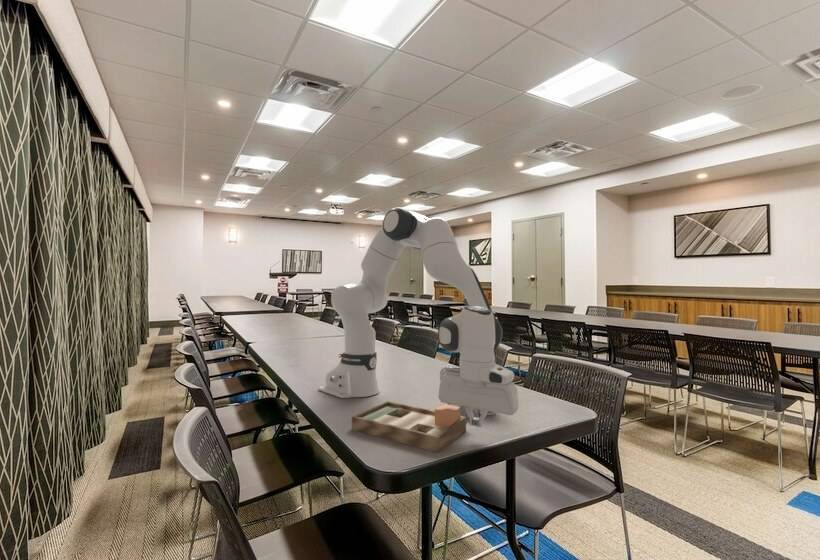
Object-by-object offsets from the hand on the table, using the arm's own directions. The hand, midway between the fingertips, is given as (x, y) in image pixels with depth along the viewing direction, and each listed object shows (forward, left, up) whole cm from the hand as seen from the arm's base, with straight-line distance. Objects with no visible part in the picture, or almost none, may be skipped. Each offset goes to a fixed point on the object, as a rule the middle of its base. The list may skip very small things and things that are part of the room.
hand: (476, 425), depth 96 cm
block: (-8, 0, -1) cm, 8 cm away
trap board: (-17, -4, -3) cm, 18 cm away
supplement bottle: (-5, +21, -4) cm, 22 cm away
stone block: (-11, +17, -4) cm, 21 cm away
